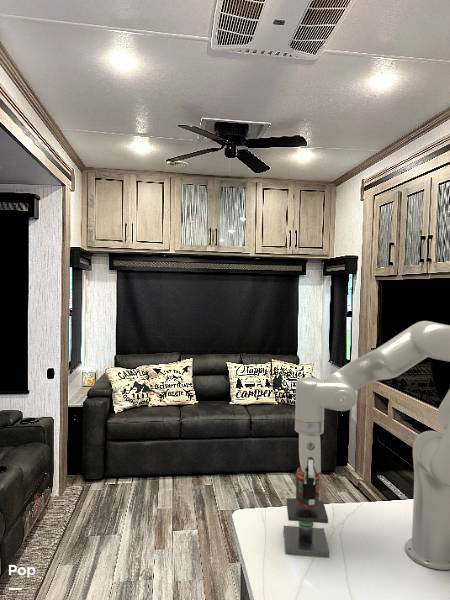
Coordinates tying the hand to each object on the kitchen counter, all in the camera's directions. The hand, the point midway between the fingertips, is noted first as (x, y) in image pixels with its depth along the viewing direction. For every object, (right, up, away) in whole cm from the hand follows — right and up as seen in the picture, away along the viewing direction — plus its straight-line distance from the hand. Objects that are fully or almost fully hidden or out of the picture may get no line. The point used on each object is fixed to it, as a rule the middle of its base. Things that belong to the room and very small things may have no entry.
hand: (307, 492), depth 117 cm
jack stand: (-1, -14, 0) cm, 14 cm away
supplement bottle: (0, -3, 0) cm, 3 cm away
